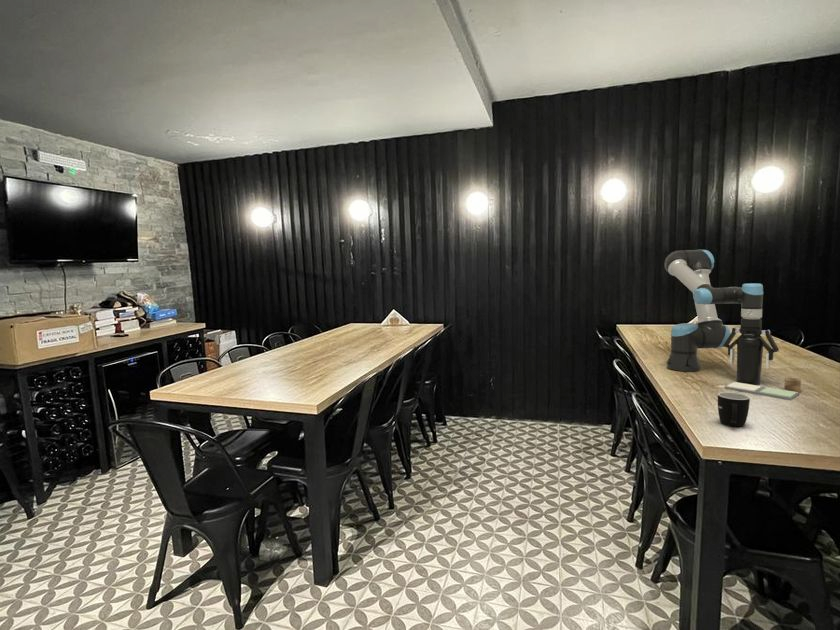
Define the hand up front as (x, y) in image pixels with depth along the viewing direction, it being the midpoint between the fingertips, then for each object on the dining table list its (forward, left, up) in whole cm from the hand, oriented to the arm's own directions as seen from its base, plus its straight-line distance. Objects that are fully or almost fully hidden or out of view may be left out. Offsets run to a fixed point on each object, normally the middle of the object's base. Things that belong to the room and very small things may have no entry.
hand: (749, 364), depth 200 cm
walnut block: (+16, -1, -9) cm, 18 cm away
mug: (+15, -63, -9) cm, 65 cm away
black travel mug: (0, 0, -9) cm, 9 cm away
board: (+8, -11, -8) cm, 16 cm away
